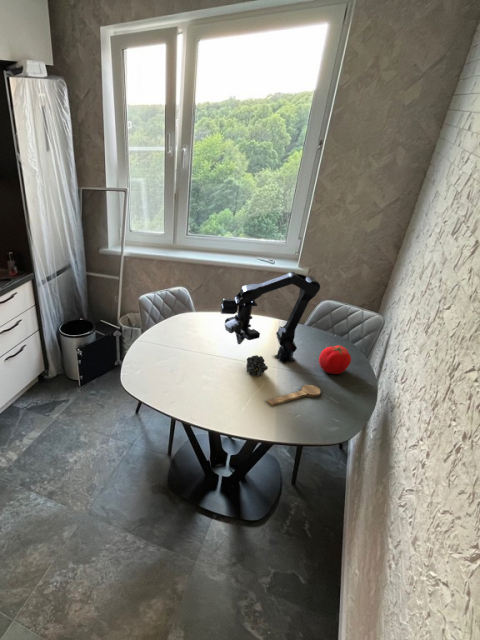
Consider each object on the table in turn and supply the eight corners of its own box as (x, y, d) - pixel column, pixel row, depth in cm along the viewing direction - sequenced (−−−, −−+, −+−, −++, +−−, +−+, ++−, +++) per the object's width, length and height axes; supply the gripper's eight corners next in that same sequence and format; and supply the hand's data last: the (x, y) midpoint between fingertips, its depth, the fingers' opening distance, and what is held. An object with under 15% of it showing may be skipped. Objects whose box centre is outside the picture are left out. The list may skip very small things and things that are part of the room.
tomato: (311, 371, 179) (318, 349, 172) (322, 359, 187) (328, 337, 180) (341, 381, 172) (349, 358, 165) (350, 368, 179) (358, 345, 173)
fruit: (250, 344, 183) (254, 360, 171) (267, 350, 183) (272, 367, 171) (241, 359, 188) (244, 376, 176) (257, 365, 188) (262, 382, 176)
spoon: (310, 385, 170) (311, 383, 169) (323, 394, 164) (324, 392, 164) (264, 399, 164) (264, 396, 163) (275, 408, 158) (276, 406, 158)
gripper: (217, 309, 185) (213, 338, 194) (241, 325, 170) (236, 357, 179) (237, 305, 188) (232, 334, 197) (263, 320, 173) (257, 351, 182)
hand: (239, 344), depth 188 cm, fingers closed
